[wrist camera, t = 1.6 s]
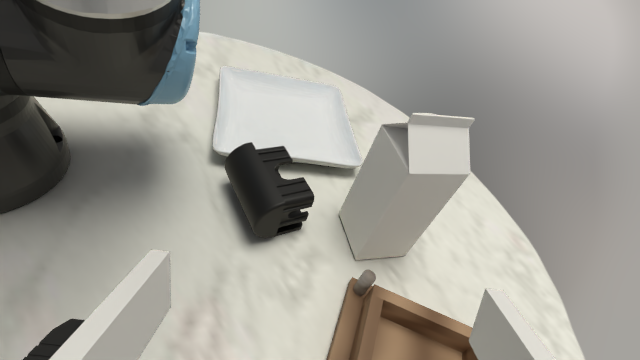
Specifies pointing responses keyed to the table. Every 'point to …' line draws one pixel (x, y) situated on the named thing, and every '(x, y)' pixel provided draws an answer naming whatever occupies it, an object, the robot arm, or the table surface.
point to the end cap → (268, 190)
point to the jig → (394, 328)
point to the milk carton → (405, 183)
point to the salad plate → (284, 118)
